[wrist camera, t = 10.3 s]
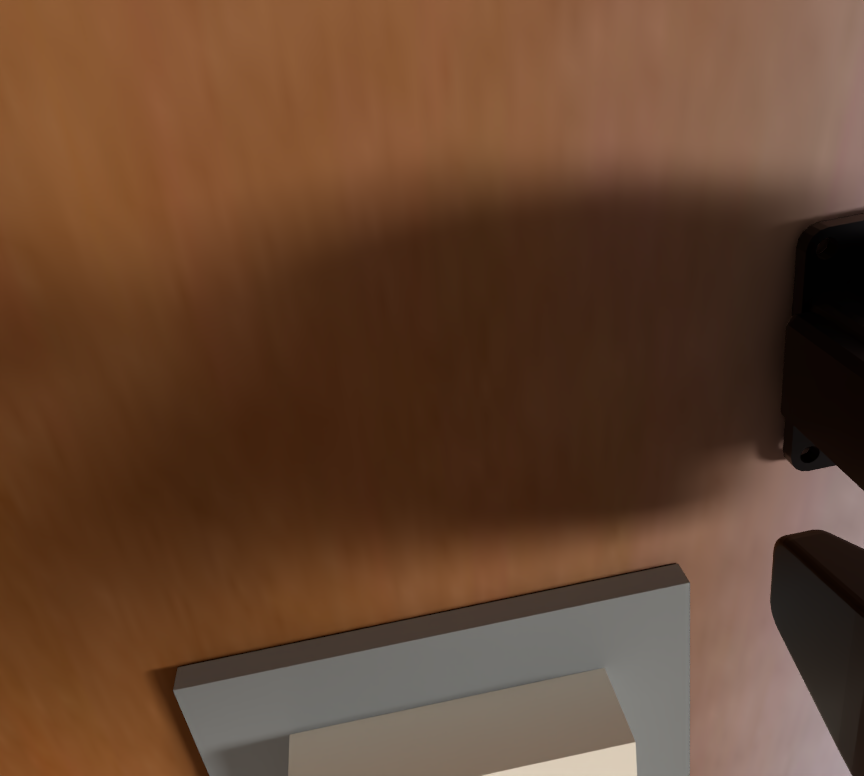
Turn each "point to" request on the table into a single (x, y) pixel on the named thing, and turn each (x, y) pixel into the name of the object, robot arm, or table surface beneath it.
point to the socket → (465, 691)
